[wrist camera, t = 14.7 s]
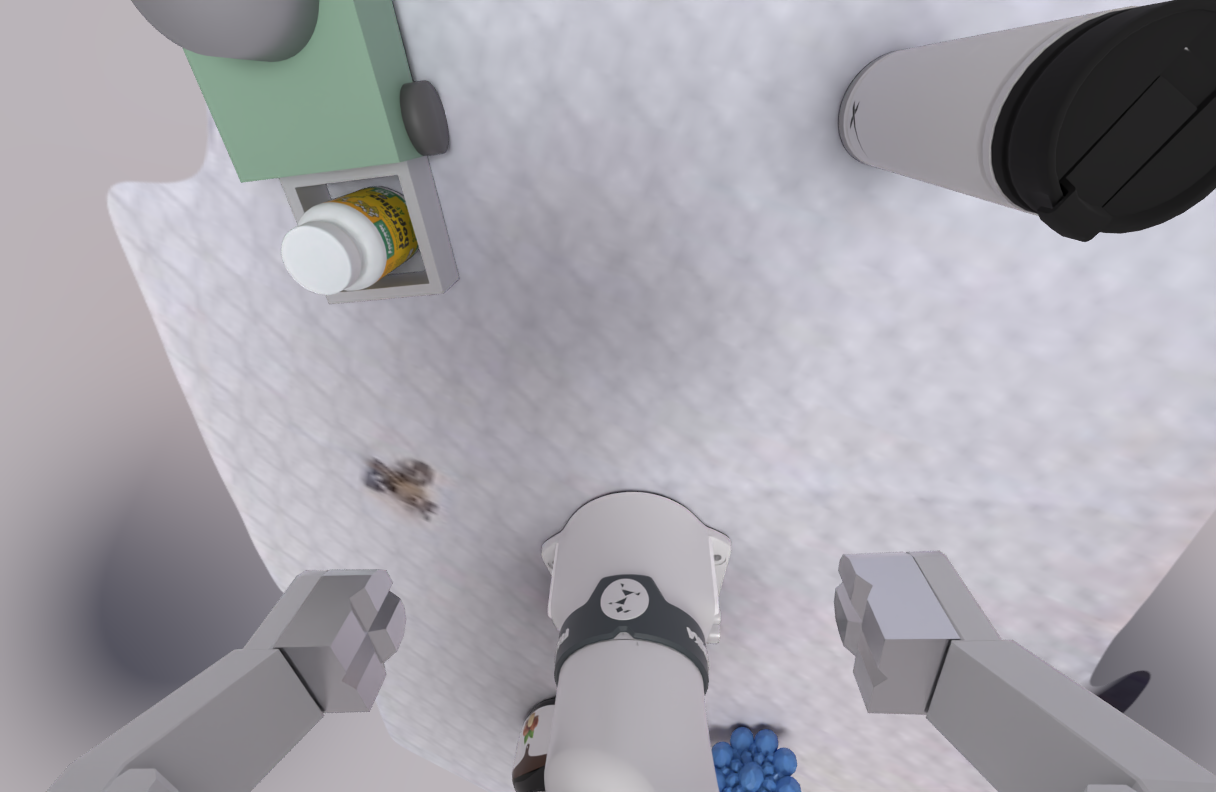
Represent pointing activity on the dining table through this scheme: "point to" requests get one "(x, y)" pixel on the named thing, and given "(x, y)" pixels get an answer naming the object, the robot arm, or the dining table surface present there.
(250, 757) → the robot arm
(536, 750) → the spread jar
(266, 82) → the green toy truck
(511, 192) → the dining table surface
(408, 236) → the supplement bottle
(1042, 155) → the travel mug
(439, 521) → the dining table surface
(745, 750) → the grapes
